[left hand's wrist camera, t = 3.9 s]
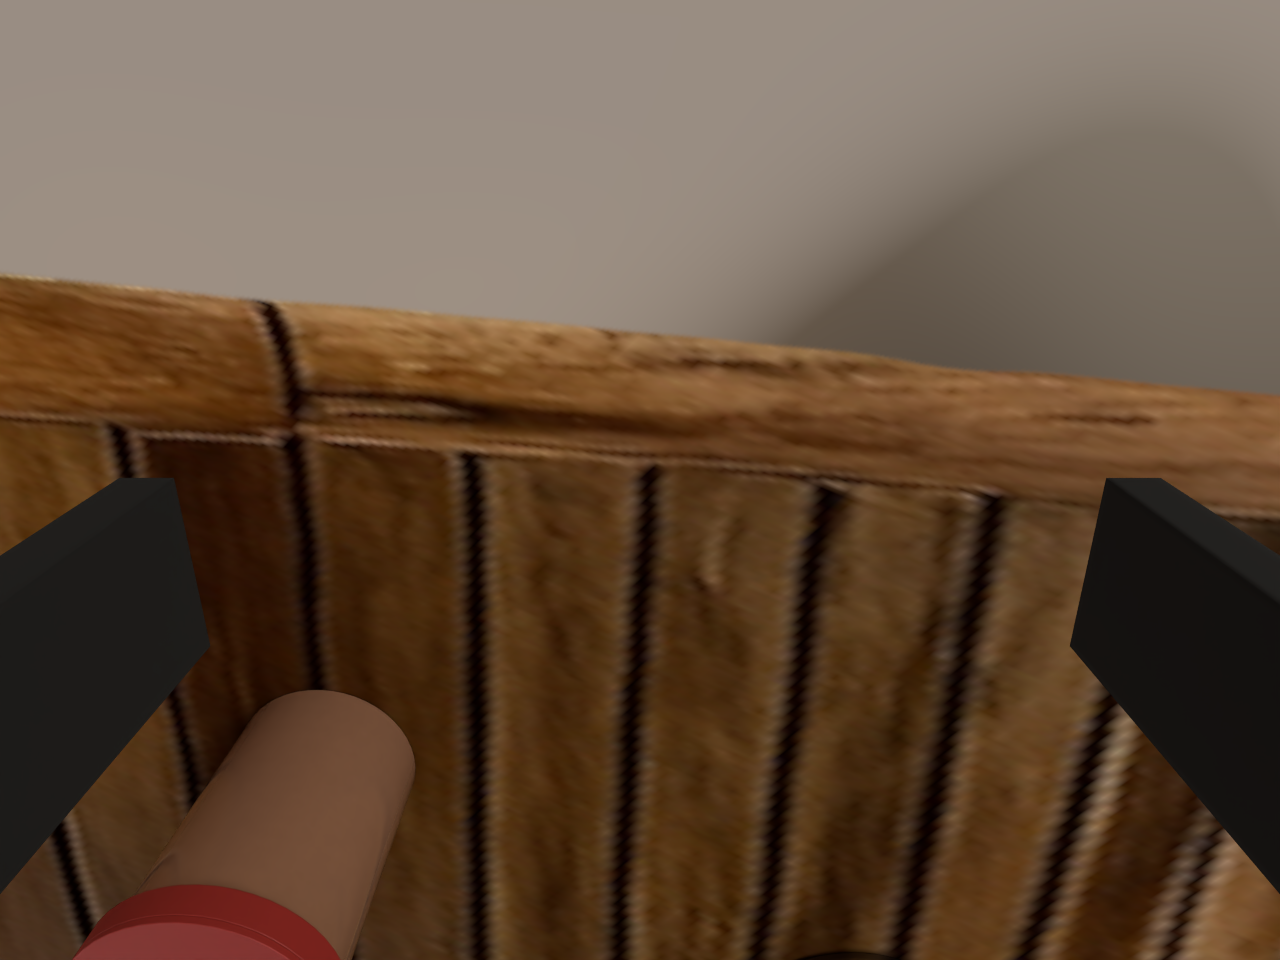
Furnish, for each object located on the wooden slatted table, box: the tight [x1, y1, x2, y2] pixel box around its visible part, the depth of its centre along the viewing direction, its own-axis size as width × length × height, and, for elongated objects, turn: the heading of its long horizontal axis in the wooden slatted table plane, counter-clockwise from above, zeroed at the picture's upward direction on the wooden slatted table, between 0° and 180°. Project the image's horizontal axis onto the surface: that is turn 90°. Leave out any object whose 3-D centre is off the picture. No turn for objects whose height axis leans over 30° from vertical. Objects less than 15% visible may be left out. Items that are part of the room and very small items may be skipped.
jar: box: [133, 690, 415, 960], centre depth 41 cm, size 10×10×15 cm
